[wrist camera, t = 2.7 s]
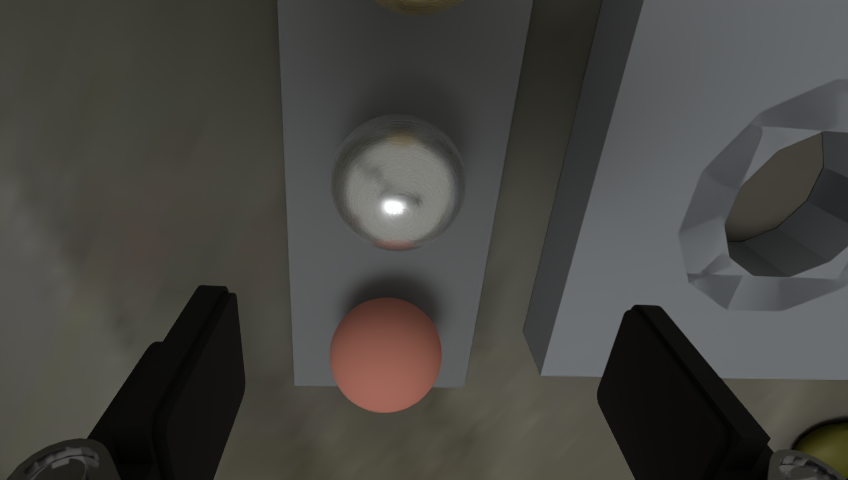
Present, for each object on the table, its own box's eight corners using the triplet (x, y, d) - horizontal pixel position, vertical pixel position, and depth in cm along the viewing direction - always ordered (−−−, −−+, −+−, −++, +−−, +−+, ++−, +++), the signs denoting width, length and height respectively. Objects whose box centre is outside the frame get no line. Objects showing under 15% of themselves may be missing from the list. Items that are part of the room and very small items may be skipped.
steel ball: (336, 95, 21) (322, 132, 16) (463, 104, 21) (488, 143, 16) (334, 212, 23) (323, 274, 18) (449, 218, 24) (466, 280, 19)
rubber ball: (334, 274, 25) (323, 346, 20) (441, 278, 25) (455, 349, 21) (334, 356, 27) (324, 438, 23) (430, 358, 28) (441, 437, 23)
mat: (266, -276, 15) (264, -282, 15) (570, -228, 16) (574, -233, 16) (295, 380, 29) (294, 385, 28) (463, 382, 30) (463, 387, 29)
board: (621, -78, 19) (668, -88, 16) (1060, -23, 21) (1177, -23, 18) (523, 332, 28) (540, 375, 25) (833, 339, 30) (884, 380, 27)
